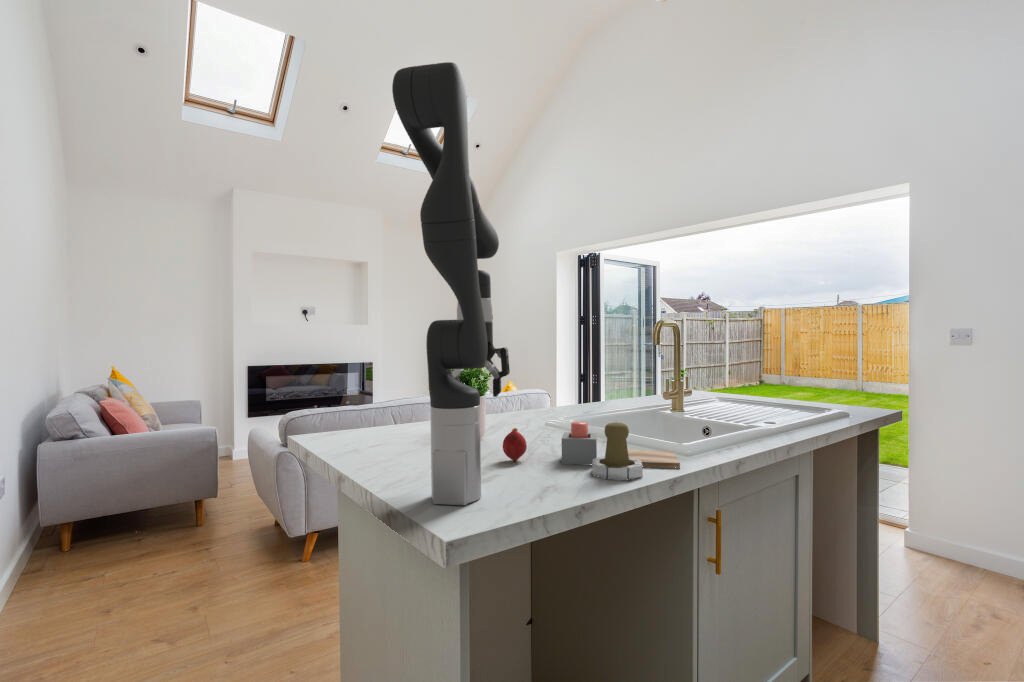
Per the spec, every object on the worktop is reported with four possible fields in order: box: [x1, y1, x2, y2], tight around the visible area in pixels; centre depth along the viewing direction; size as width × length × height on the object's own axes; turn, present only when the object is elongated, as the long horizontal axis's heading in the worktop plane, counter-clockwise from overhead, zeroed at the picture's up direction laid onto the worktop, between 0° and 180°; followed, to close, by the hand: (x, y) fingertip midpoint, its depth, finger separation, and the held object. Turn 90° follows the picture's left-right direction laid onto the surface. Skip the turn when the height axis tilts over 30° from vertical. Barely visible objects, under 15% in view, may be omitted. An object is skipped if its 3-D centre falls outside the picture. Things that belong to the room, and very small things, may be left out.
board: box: [628, 449, 681, 469], centre depth 120 cm, size 12×12×1 cm
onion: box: [502, 427, 528, 462], centre depth 122 cm, size 6×6×8 cm
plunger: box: [570, 421, 589, 438], centre depth 121 cm, size 4×4×6 cm
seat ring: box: [591, 455, 644, 481], centre depth 110 cm, size 10×10×2 cm
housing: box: [561, 431, 598, 465], centre depth 121 cm, size 8×8×6 cm
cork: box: [604, 421, 630, 467], centre depth 110 cm, size 6×6×11 cm
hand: (476, 396), depth 108 cm, fingers open, 8 cm apart
